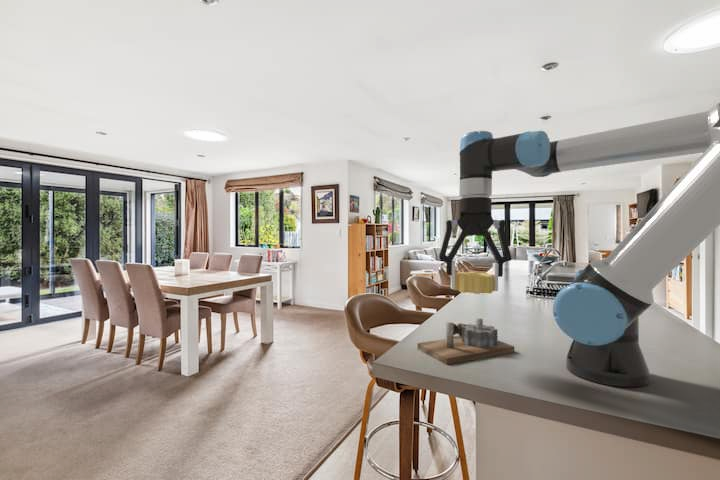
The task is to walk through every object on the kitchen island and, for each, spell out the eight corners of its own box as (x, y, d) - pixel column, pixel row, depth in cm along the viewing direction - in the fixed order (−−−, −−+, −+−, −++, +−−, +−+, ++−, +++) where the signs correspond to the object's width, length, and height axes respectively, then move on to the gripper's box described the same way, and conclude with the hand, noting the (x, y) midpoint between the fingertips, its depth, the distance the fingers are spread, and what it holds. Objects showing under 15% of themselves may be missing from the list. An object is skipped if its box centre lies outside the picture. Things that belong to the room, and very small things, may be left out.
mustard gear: (497, 294, 80) (498, 277, 79) (456, 292, 81) (456, 276, 81) (489, 287, 89) (490, 272, 89) (452, 286, 90) (452, 271, 90)
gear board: (514, 351, 92) (514, 322, 92) (446, 364, 84) (446, 331, 84) (479, 338, 104) (479, 312, 104) (417, 348, 96) (417, 319, 96)
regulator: (488, 335, 111) (443, 328, 110) (492, 325, 110) (446, 317, 109) (496, 350, 104) (448, 342, 103) (500, 339, 103) (451, 331, 102)
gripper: (519, 198, 86) (517, 288, 87) (429, 199, 90) (427, 285, 91) (528, 195, 79) (526, 293, 79) (429, 196, 83) (428, 290, 83)
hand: (473, 289), depth 85 cm, fingers closed on mustard gear, 9 cm apart
